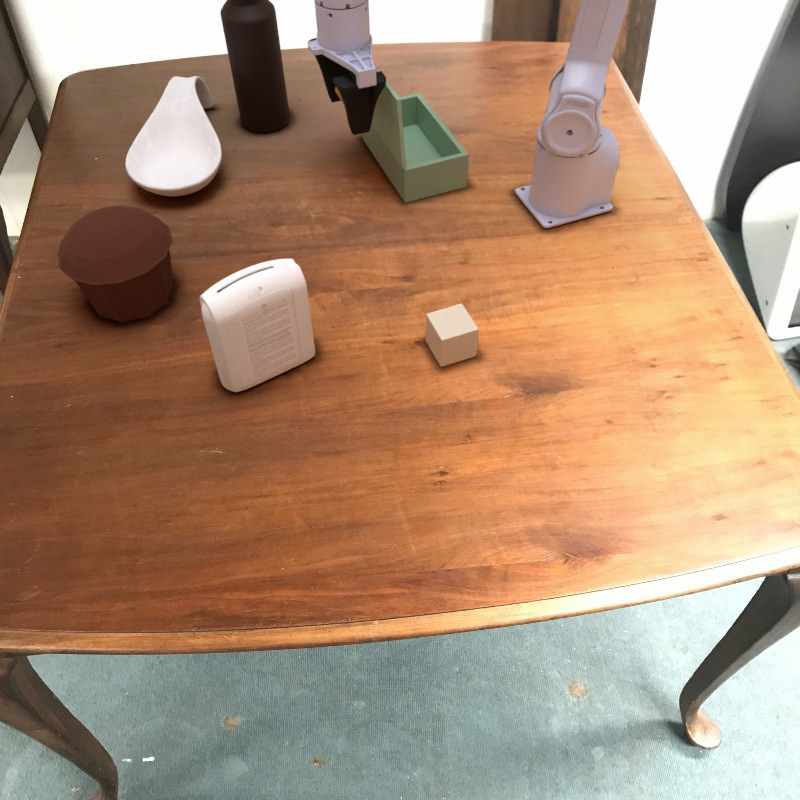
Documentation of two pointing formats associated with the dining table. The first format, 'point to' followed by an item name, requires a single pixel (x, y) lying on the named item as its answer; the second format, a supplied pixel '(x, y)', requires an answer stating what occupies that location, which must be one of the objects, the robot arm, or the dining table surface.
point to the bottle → (256, 63)
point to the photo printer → (258, 323)
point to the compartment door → (389, 121)
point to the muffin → (119, 261)
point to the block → (451, 334)
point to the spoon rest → (177, 142)
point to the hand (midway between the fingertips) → (349, 115)
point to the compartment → (422, 153)
